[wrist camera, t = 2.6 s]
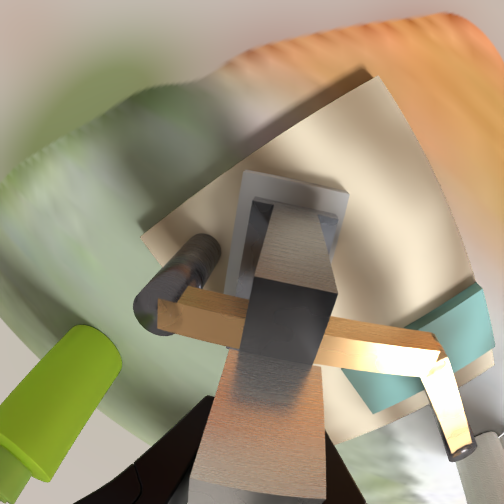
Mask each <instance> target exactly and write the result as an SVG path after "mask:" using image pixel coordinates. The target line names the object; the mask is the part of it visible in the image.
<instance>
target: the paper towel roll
mask: <svg viewBox="0 0 504 504" xmlns="http://www.w3.org/2000/svg"><path fill="white" fill-rule="evenodd" d="M475 440H476V443H477V448H476V450H475V451H474V452H473V453H472V454H471V455H469V456H468V457H466V458H464V459H462V460H460V461H456V465H457V468H458V472H459V475H460V478H461V482H462V485H463V489H464V492H465V496H466V500H467V504H504V435H503V436H501V437H500V438H498V436H497V434H496V433H495V432H486V433H483V434H481V435H479V436H476V437H475Z"/></svg>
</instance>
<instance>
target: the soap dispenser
mask: <svg viewBox="0 0 504 504" xmlns="http://www.w3.org/2000/svg"><path fill="white" fill-rule="evenodd" d="M121 368H122V360H121V357H120V354H119V352H118V350H117V348H116V347H115V345H114V344H113V343H112V342H111V341H110V339H109V338H107V337H106V336H105V335H104V334H103V333H101V332H100V331H98V330H97V329H95V328H93V327H90V326H87V325H76V326H74V327H73V328H71V329H70V331H69V332H68V333H67V334H66V335H65V336H64V337H63V338H62V339H61V340H60V341H59V342H58V343H57V344H56V345H55V346H54V347H53V348H52V349H51V350H50V351H49V352H48V353H47V354H46V355H45V356H44V357H43V358H42V359H41V361H40V362H39V363H38V364H37V365H36V366H35V367H34V368H33V369H32V370H31V371H30V372H29V374H28V375H27V376H26V377H25V378H24V379H23V380H22V381H21V382H20V383H19V385H18V386H17V387H16V388H15V389H14V390H13V391H12V392H11V393H10V395H9V396H8V397H7V398H6V399H5V400H4V402H3V403H2V404H1V405H0V501H2V502H3V503H6V502H8V503H9V504H14V503H15V502H16V500H17V498H18V497H19V495H20V493H21V492H22V490H23V489H24V487H25V485H26V484H27V482H28V481H29V479H30V477H31V476H32V477H34V478H36V479H38V480H41V481H43V482H50V481H51V479H52V477H53V476H54V474H55V472H56V471H57V469H58V467H59V466H60V464H61V462H62V461H63V459H64V457H65V456H66V454H67V453H68V451H69V450H70V448H71V446H72V445H73V443H74V442H75V440H76V438H77V437H78V435H79V434H80V432H81V430H82V429H83V427H84V426H85V424H86V422H87V421H88V419H89V418H90V416H91V415H92V413H93V412H94V410H95V409H96V407H97V406H98V404H99V403H100V401H101V399H102V398H103V396H104V395H105V393H106V392H107V390H108V389H109V387H110V386H111V384H112V383H113V381H114V380H115V378H116V377H117V375H118V374H119V372H120V371H121Z"/></svg>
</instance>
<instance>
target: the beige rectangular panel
mask: <svg viewBox="0 0 504 504" xmlns="http://www.w3.org/2000/svg"><path fill="white" fill-rule="evenodd" d="M255 196H256V197H261V198H266V199H271V200H275V201H280V202H285V203H290V204H294V205H299V206H303V207H308V208H312V209H317V210H321V211H325V212H330V213H334V214H336V215H337V217H338V219H339V220H338V224H337V228H336V231H335V235H334V239H333V242H332V246H331V250H330V253H329V258H330V262H331V266H332V270H333V274H334V278H335V282H336V286H337V290H338V296H337V299H336V302H335V305H334V308H333V311H332V314H331V316H334V317H339V318H345V319H351V320H356V321H362V322H368V323H374V324H380V325H386V326H392V327H398V328H404V329H411V330H417V331H424V332H431V333H433V334H435V335H436V337H437V339H438V340H439V342H440V344H441V346H442V347H443V349H444V351H445V353H446V355H447V357H448V360H449V363H450V366H451V369H452V372H453V375H454V378H455V381H456V384H457V388H459V387H461V386H462V385H464V384H466V383H467V382H469V381H471V380H472V379H474V378H475V377H477V376H479V375H480V374H482V373H483V372H485V371H486V370H488V369H489V368H491V367H492V366H494V358H493V353H492V348H494V347H495V342H494V337H493V331H492V327H491V322H490V317H489V313H488V308H487V304H486V300H485V296H484V292H483V289H482V288H481V287H480V286H479V285H478V284H477V283H476V280H475V277H474V274H473V271H472V267H471V264H470V261H469V258H468V255H467V252H466V249H465V246H464V243H463V241H462V238H461V235H460V232H459V230H458V227H457V225H456V222H455V219H454V217H453V214H452V212H451V209H450V207H449V205H448V202H447V200H446V198H445V195H444V193H443V191H442V189H441V186H440V184H439V182H438V180H437V178H436V176H435V173H434V171H433V169H432V167H431V165H430V163H429V161H428V159H427V157H426V155H425V153H424V151H423V149H422V147H421V145H420V144H419V142H418V140H417V138H416V136H415V134H414V133H413V131H412V129H411V127H410V125H409V124H408V122H407V120H406V119H405V117H404V115H403V113H402V112H401V110H400V108H399V107H398V105H397V103H396V102H395V100H394V99H393V97H392V95H391V94H390V92H389V91H388V89H387V88H386V86H385V85H384V83H383V82H382V80H381V79H380V77H379V76H376V77H374V78H373V79H371V80H369V81H367V82H366V83H364V84H362V85H360V86H358V87H357V88H355V89H353V90H352V91H350V92H348V93H346V94H345V95H343V96H341V97H340V98H338V99H336V100H335V101H333V102H331V103H330V104H328V105H326V106H325V107H323V108H321V109H320V110H318V111H316V112H315V113H313V114H312V115H310V116H308V117H307V118H305V119H304V120H302V121H300V122H299V123H297V124H296V125H294V126H293V127H291V128H290V129H288V130H286V131H285V132H283V133H282V134H280V135H279V136H277V137H276V138H274V139H273V140H271V141H270V142H268V143H267V144H265V145H264V146H262V147H261V148H259V149H258V150H256V151H255V152H253V153H252V154H250V155H249V156H248V157H246V158H245V159H243V160H242V161H240V162H239V163H237V164H236V165H235V166H233V167H232V168H230V169H229V170H227V171H226V172H225V173H223V174H222V175H220V176H219V177H218V178H216V179H215V180H214V181H212V182H211V183H209V184H208V185H207V186H205V187H204V188H203V189H201V190H200V191H199V192H197V193H196V194H195V195H193V196H192V197H191V198H189V199H188V200H187V201H185V202H184V203H183V204H181V205H180V206H179V207H177V208H176V209H175V210H173V211H172V212H171V213H170V214H168V215H167V216H166V217H164V218H163V219H162V220H161V221H159V222H158V223H157V224H155V225H154V226H153V227H152V228H150V229H149V230H148V231H147V232H145V233H144V234H143V235H142V236H141V237H140V238H141V240H142V241H143V242H144V244H145V245H146V246H147V248H148V249H149V250H150V252H151V253H152V254H153V256H154V257H155V258H156V259H157V261H158V262H159V263H160V265H161V266H162V267H163V266H164V265H165V264H166V263H167V262H168V261H169V260H170V259H171V258H172V257H173V256H174V255H175V254H176V253H177V251H178V250H179V249H180V248H181V247H182V246H183V245H184V244H185V243H186V242H187V241H188V240H189V239H190V238H191V237H192V236H194V235H196V234H199V233H204V234H208V235H211V236H212V237H214V238H215V239H216V240H217V241H218V243H219V245H220V247H221V257H220V260H219V261H218V263H217V265H216V267H215V268H214V270H213V272H212V274H211V275H210V277H209V279H208V280H207V282H206V284H205V286H204V287H203V289H204V290H209V291H213V292H217V293H222V294H226V295H231V296H235V294H236V288H237V283H238V277H239V272H240V266H241V260H242V255H243V249H244V244H245V238H246V233H247V227H248V222H249V216H250V211H251V205H252V200H253V199H254V197H255ZM313 366H319V367H321V371H322V386H323V404H324V425H325V430H326V432H327V433H328V435H329V437H330V439H331V441H332V442H333V444H334V445H336V444H339V443H341V442H344V441H347V440H350V439H352V438H355V437H358V436H360V435H363V434H365V433H368V432H370V431H373V430H375V429H377V428H380V427H382V426H385V425H387V424H389V423H391V422H394V421H396V420H398V419H400V418H402V417H404V416H406V415H409V414H411V413H413V412H415V411H417V410H419V409H421V408H423V407H425V406H427V405H429V404H430V403H429V401H428V398H427V395H426V393H425V389H426V388H425V386H424V384H423V382H422V379H421V377H418V376H406V375H396V374H386V373H377V372H369V371H361V370H353V369H346V368H339V367H332V366H326V365H320V364H313Z"/></svg>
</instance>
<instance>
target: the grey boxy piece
mask: <svg viewBox="0 0 504 504" xmlns="http://www.w3.org/2000/svg"><path fill="white" fill-rule="evenodd" d="M338 220H339V219H338V217H337V215H336V214H334V213H330V212H325V211H321V210H317V209H312V208H308V207H303V206H299V205H294V204H290V203H285V202H280V201H275V200H271V199H266V198H261V197H256V196H255V197H254V199H253V200H252V205H251V211H250V216H249V222H248V227H247V233H246V238H245V244H244V249H243V255H242V260H241V266H240V272H239V277H238V283H237V288H236V294H235V297H240V298H244V299H249V304H248V309H247V313H246V318H245V323H244V328H243V333H242V338H241V343H240V348H239V349H236V348H232V347H227V346H226V348H227V349H229V352H228V355H227V359H226V362H225V365H224V369H223V372H222V375H221V378H220V382H219V385H218V388H217V391H216V395H215V398H214V401H213V404H212V407H211V411H210V414H209V417H208V420H207V424H206V427H205V430H204V433H203V436H202V440H201V443H200V446H199V449H198V452H197V456H196V459H195V462H194V465H193V468H192V472H191V475H190V479H189V493H188V504H322V503H323V502H324V501H325V500H326V454H325V425H324V404H323V386H322V371H321V367H319V366H313V362H314V360H315V357H316V355H317V352H318V349H319V347H320V344H321V341H322V339H323V336H324V333H325V330H326V328H327V325H328V322H329V319H330V316H331V314H332V311H333V308H334V305H335V302H336V299H337V296H338V290H337V286H336V282H335V278H334V274H333V270H332V266H331V262H330V258H329V253H330V250H331V246H332V242H333V239H334V235H335V231H336V228H337V224H338Z"/></svg>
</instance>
